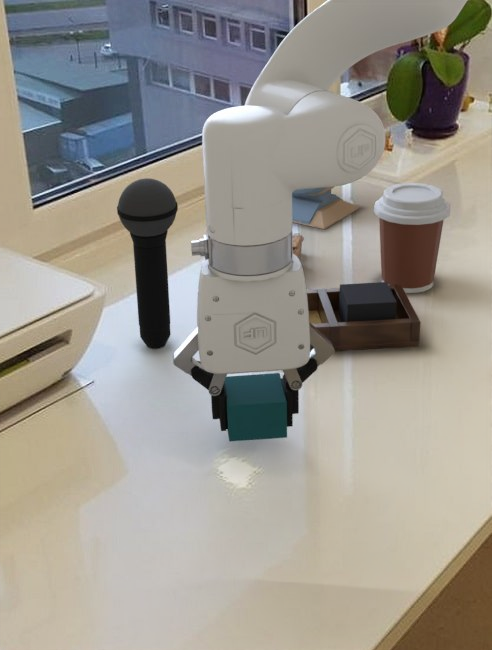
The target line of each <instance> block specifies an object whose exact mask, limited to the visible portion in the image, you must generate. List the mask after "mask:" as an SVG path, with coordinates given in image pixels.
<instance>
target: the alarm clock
mask: <svg viewBox="0 0 492 650" xmlns="http://www.w3.org/2000/svg"><path fill="white" fill-rule="evenodd" d="M333 188H334V189H335V187H324V188H310V189H299V190H295V191H294V192H292V223H294V224H299V225H303V226H306V227H307V226H308V227H312V228H315V229H316V228H317V229H321V230H325V229H327V228H329V227H330V226H332V225H334V224H336V223H337V222H339V221H341V220H342V219H344V218H345V217H347V216H349V215H351V214H352V213H353V212H355V211H357V210H359V209H360V206H358V205H355V204H353V203H351V202H348V201H345V200H344V199H342V198H340V197H339V196H338V195H337V194H335V193H332V189H333Z"/></svg>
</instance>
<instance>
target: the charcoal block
mask: <svg viewBox="0 0 492 650" xmlns="http://www.w3.org/2000/svg"><path fill="white" fill-rule="evenodd" d="M339 288H340V295H339V316H340V319H341V322H356V321H373V320H391V319H396V305H397V302H396V300H395V298H394V296H393V294H392V292H391V290H390V288H389V285H388V283H387V282H382V281H378V282H361V283H359V282H358V283H343V284H342V283H341V284H339Z"/></svg>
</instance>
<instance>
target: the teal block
mask: <svg viewBox="0 0 492 650" xmlns="http://www.w3.org/2000/svg"><path fill="white" fill-rule="evenodd" d="M281 378H282V377H281V373H280V372H275V373H273V372H272V373H258V374H243V375H229V376H228V375H227V376H226V379H225V387H226V394H227V419H228V429H227V435H228V441H229V442H243V441H256V440H271V439H272V440H273V439H274V440H275V439H287V438H288V427H287V402H286V397H285V395H284V390H283V386H282V382H281Z"/></svg>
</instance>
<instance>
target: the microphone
mask: <svg viewBox="0 0 492 650" xmlns="http://www.w3.org/2000/svg"><path fill="white" fill-rule="evenodd" d="M178 206H179V205H178V202H177V200H176V198H175V194H174V193H173V191H172V189H171V188H169V186H168V185H167V184H165V183H164V182H162V181H160V180H158V179H155V178H147V177H146V178H139V179H137V180H135V181H133V182H131V183H130V184H128V185H127V186H126V187H125V188H124V189H123V190H122V192H121V195H120V196H119V199H118V203H117V206H116V212H117V215H118V218H119V220H120V222H121V224H122V225H123V227H124V228H125V229H126V230H127V231H128V232H129V235H130V238H131V240H132V244H133V245H132V247H133V261H134V275H135V286H136V289H135V290H136V303H137V318H138V326H139V337H140V339H141V340H142V342H143V343H144V345H145V346H146V347H147V348H148V349H150V350H151V349H152V350H158V349H162V348H164V347H165V346H166V344H167V343H168V340H169V339H170V337H171V311H170V294H169V293H170V292H169V275H168V274H169V273H168V260H167V259H168V255H167V236H168V231H169V229H170V227H171V226H173V224H174V221H175V220H176V217H177V216H176V215H177V213H178V211H179V207H178Z"/></svg>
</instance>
